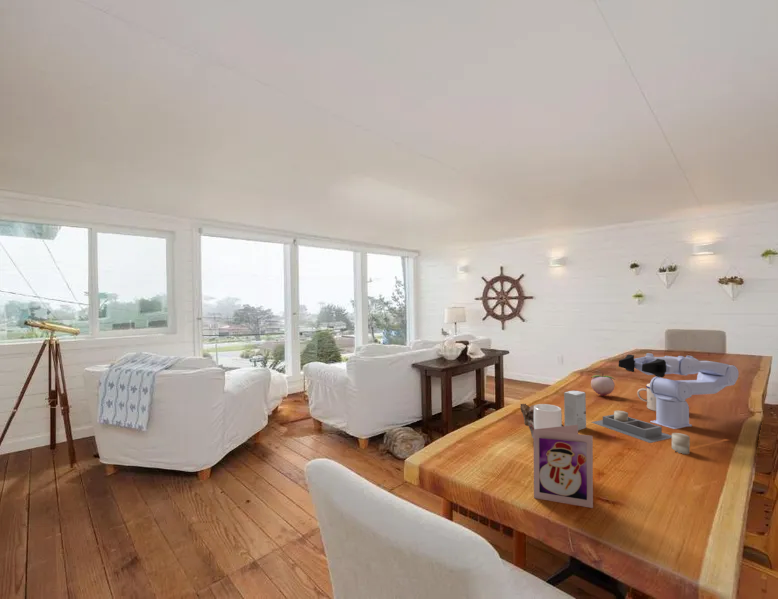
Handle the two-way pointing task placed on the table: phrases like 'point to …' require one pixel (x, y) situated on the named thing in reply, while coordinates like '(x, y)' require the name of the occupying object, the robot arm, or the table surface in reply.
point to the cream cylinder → (681, 443)
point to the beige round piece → (621, 416)
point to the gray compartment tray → (634, 428)
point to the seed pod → (528, 417)
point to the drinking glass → (547, 416)
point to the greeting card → (563, 465)
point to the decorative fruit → (602, 384)
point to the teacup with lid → (648, 398)
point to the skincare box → (575, 409)
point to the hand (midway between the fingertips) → (631, 365)
